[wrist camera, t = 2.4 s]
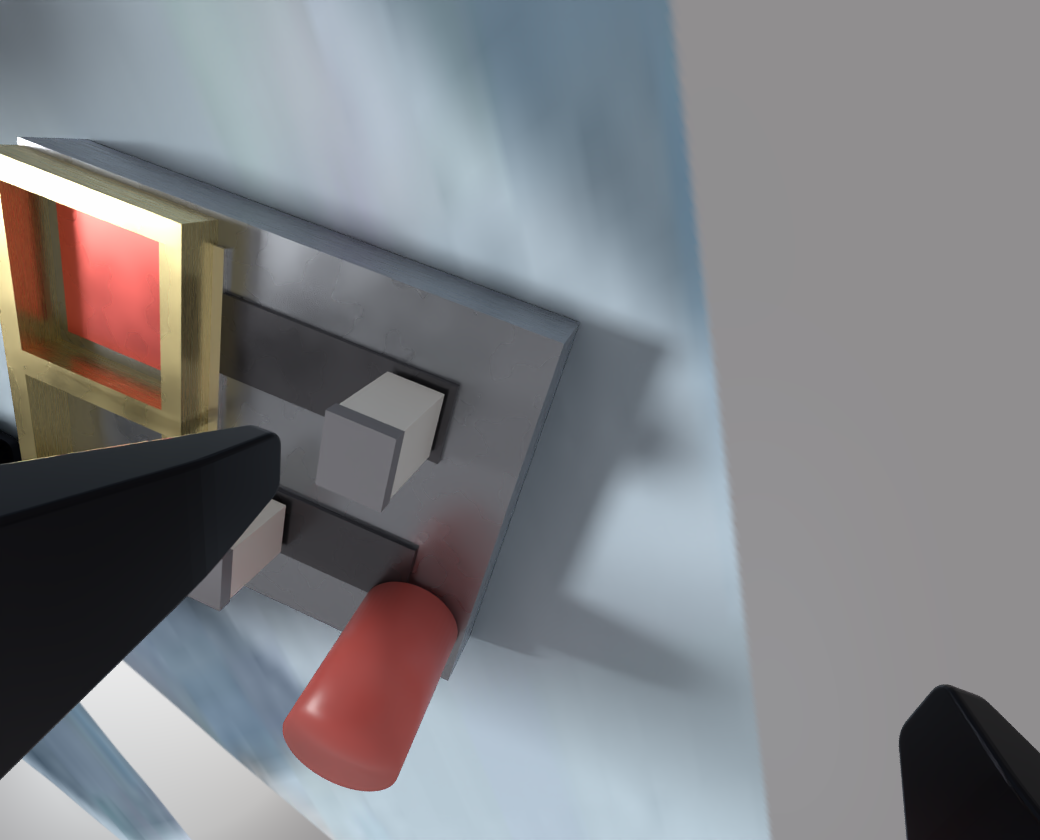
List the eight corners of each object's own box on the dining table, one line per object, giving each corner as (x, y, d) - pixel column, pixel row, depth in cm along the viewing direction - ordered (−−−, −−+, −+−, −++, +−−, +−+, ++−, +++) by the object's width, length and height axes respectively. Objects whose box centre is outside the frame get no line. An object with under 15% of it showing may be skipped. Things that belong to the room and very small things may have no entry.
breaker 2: (430, 458, 19) (380, 512, 16) (374, 434, 20) (315, 484, 16) (446, 393, 18) (396, 439, 15) (386, 369, 18) (325, 410, 15)
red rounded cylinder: (446, 669, 24) (388, 806, 19) (358, 633, 24) (279, 759, 19) (467, 605, 22) (408, 742, 17) (370, 567, 22) (286, 690, 17)
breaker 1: (281, 553, 23) (220, 611, 20) (236, 532, 23) (168, 587, 20) (287, 505, 22) (222, 558, 19) (239, 483, 22) (168, 533, 19)
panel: (469, 637, 26) (433, 711, 23) (109, 473, 29) (27, 517, 25) (579, 322, 19) (552, 359, 15) (87, 139, 21) (-34, 135, 18)
